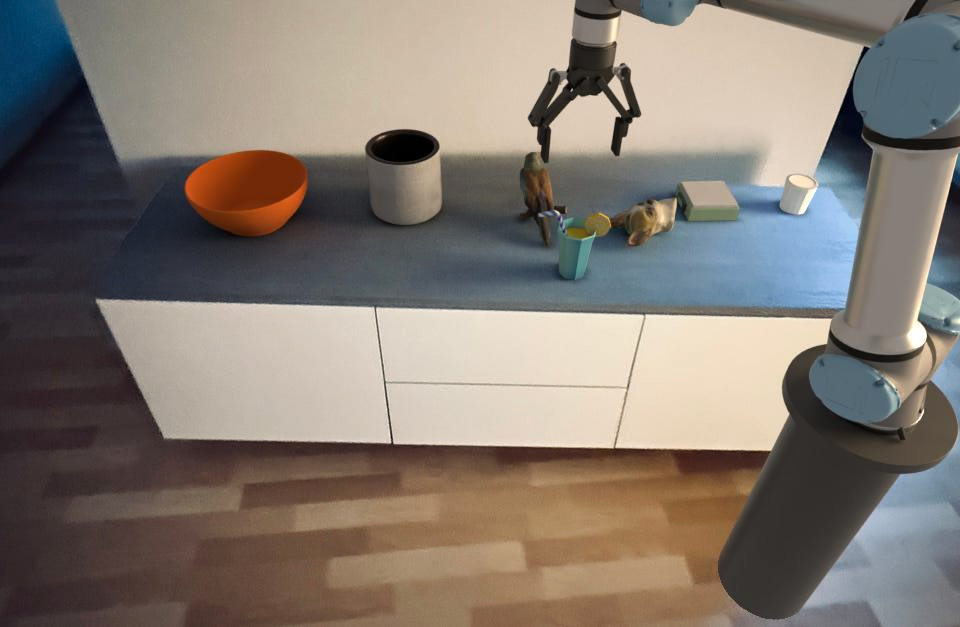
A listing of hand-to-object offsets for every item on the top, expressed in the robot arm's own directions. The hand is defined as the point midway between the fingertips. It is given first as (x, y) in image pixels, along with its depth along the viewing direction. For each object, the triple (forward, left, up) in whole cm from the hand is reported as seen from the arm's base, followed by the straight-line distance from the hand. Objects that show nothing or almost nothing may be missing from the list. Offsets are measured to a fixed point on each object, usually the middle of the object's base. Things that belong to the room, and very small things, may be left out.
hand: (579, 156), depth 124 cm
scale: (+17, -34, -23) cm, 45 cm away
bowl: (+16, +67, -23) cm, 73 cm away
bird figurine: (+13, +4, -23) cm, 27 cm away
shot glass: (+16, -54, -23) cm, 61 cm away
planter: (+19, +34, -23) cm, 45 cm away
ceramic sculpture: (+7, -17, -23) cm, 30 cm away
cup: (-5, +1, -23) cm, 24 cm away
